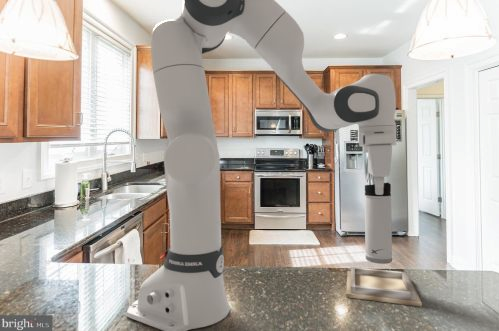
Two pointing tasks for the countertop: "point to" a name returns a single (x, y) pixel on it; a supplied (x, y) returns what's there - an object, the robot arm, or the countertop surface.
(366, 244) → the travel mug
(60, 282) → the countertop surface
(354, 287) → the square metal tray
